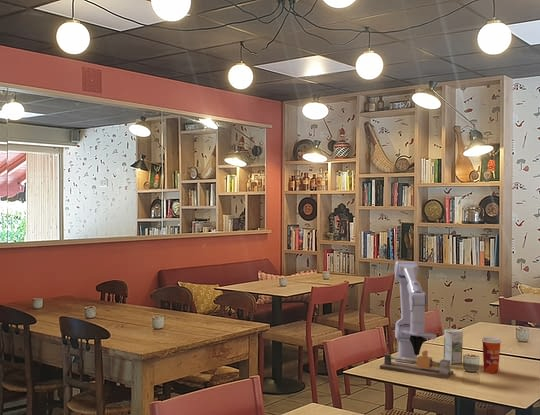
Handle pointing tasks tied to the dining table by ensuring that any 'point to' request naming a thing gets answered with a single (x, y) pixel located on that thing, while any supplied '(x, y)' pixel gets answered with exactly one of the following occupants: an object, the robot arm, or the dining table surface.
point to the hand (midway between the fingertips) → (416, 354)
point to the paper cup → (491, 354)
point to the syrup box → (453, 345)
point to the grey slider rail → (413, 369)
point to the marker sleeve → (424, 360)
